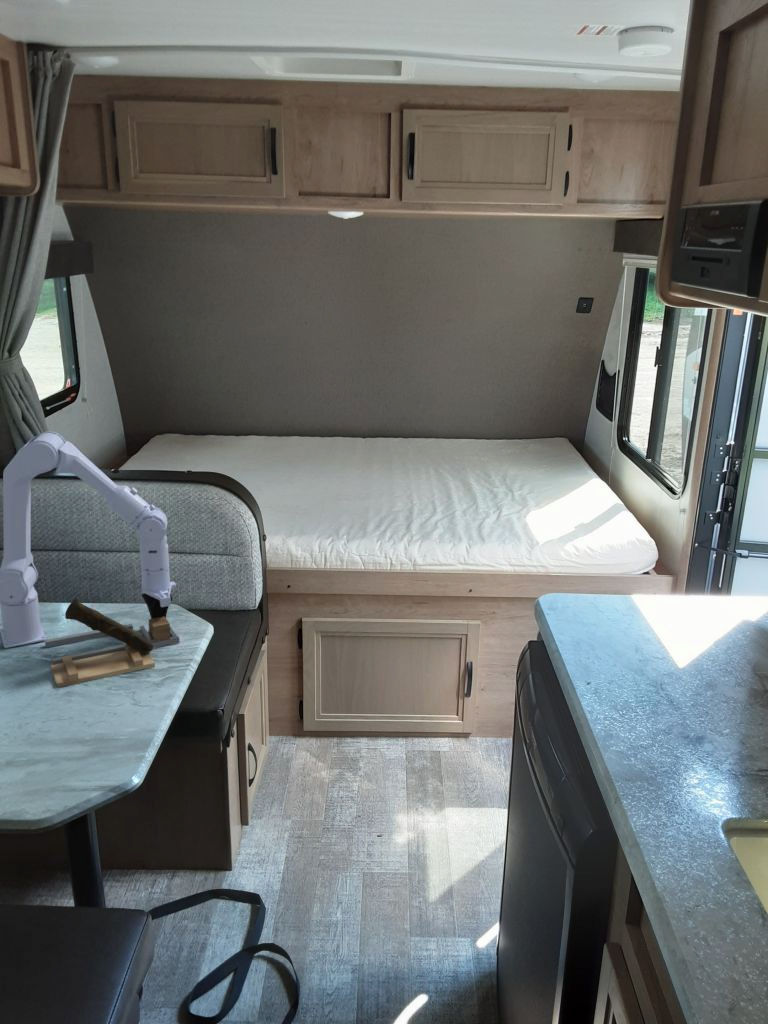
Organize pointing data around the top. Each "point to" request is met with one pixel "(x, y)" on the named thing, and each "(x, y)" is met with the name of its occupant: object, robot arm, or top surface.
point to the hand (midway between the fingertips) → (158, 625)
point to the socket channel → (81, 638)
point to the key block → (159, 628)
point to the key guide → (160, 642)
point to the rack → (100, 666)
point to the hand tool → (107, 626)
